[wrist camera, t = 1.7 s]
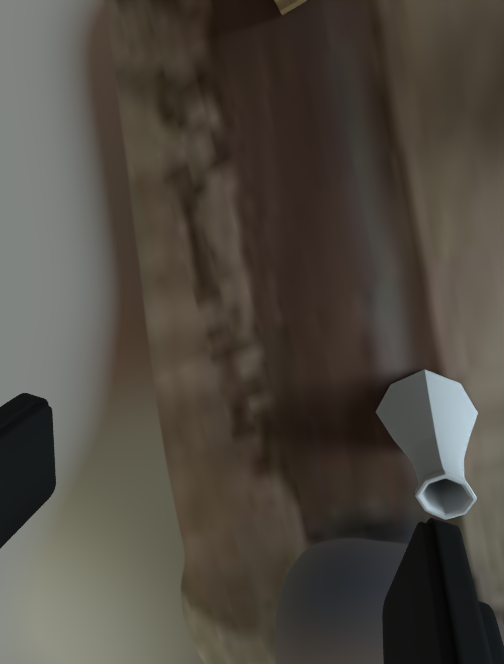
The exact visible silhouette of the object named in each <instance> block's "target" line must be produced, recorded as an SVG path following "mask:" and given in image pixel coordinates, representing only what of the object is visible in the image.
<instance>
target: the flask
mask: <svg viewBox="0 0 504 664" xmlns="http://www.w3.org/2000/svg"><path fill="white" fill-rule="evenodd" d="M477 413H478V412H477V411H476V409H475V407H474V406H473V404H472V402H471V401H470V399H469V397H468V396H467V394H466V392H465V390H464V389H463V387H462V385H461V384H460V383H458V382H455V381H453V380H450V379H448V378H445V377H443V376H440V375H438V374H435V373H433V372H430V371H427V370H425V369H424V370H422V371H420V372H417V373H415V374H413V375H411V376H408V377H406V378H404V379H402V380H399V381H397V382H395V383H393V384H391V385H390V386H389V388H388V390H387V392H386V394H385V395H384V397H383V399H382V401H381V403H380V405H379V406H378V408H377V410H376V414H377V415H378V417H379V418H380V420H381V421H382V423H383V424H384V426H385V427H386V429H387V431H388V432H389V434H390V435H391V437H392V438H393V440H394V441H395V442H396V444H397V445H398V446H399V447H400V448H401V449H402V451H403V452H404V453H405V454H406V455H407V457H408V458H409V459H410V461H411V463H412V465H413V467H414V469H415V471H416V474H417V479H418V484H419V485H418V487H417V488H416V490H415V496H416V498H417V499H418V501H419V502H420V504H421V505H422V507H423V508H424V510H425V511H426V512H428V513H431V514H433V515H435V516H438V517H440V518H442V519H444V520H446V519H450V518H453V517H457V516H460V515H464V514H466V513H467V512H468V510H469V509H470V508H471V506H472V505H473V504H474V503H475V501H476V500H477V498H476V496H475V494H474V492H473V491H472V489H471V488H470V486H469V484H468V483H467V481H466V480H465V477H464V456H465V452H466V449H467V445H468V441H469V438H470V434H471V432H472V429H473V426H474V423H475V420H476V417H477Z"/></svg>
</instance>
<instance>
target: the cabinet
mask: <svg viewBox="0 0 504 664" xmlns="http://www.w3.org/2000/svg"><path fill="white" fill-rule="evenodd" d="M274 1H275V3H276V5H277V6H278V8H279V10H280V12H281V14H282V15H284V14H286V13H287V12H289V11H291V10H292V9H294V8H296V7H297V6H299V5H301V4H302V3H304V2H306V1H307V0H274Z"/></svg>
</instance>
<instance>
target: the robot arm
mask: <svg viewBox="0 0 504 664" xmlns="http://www.w3.org/2000/svg"><path fill="white" fill-rule="evenodd" d="M55 485H56V476H55V457H54V437H53V419H52V408H51V407H50V406H49V405H48V402H47V400H46V399H44V398H40V397H37V396H34V395H31V394H28V393H22V394H20V395H18V396H16V397H15V398H13V399H12V400H10V401H9V402H7V403H6V404H4V405H3V406H1V407H0V548H1V547H2V546H3V545H4V544H5V543H6V542H7V541H8V540H9V539H10V538H11V537H12V536H13V535H14V534H15V533H16V532H17V531H18V530H19V529H20V528H21V527H22V526H23V525H24V524H25V522H26V521H27V520H28V519H29V518H30V517H31V516H32V515H33V514H34V513H35V512H36V511H37V510H38V509H39V508H40V507H41V506H42V505H43V504H44V503H45V502H46V501H47V500H48V499H49V498H50V496H51V495H52V493H53V492H54V489H55ZM383 651H384V652H383V654H384V664H504V645H503V642H502V639H501V635H500V631H499V627H498V624H497V620H496V617H495V615H494V612H493V610H492V609H491V607H490V606H489V605H488V604H485V603H483V602H480V601H478V600H477V596H476V592H475V587H474V583H473V579H472V575H471V571H470V567H469V563H468V559H467V555H466V551H465V547H464V543H463V539H462V535H461V531H460V529H459V527H458V526H456V525H452V524H449V523H446V522H443V521H439V520H436V519H433V518H430V519H429V520H428V521H427V523H423V522H419V523H418V524H417V526H416V529H415V531H414V533H413V536H412V538H411V540H410V543H409V545H408V547H407V549H406V552H405V554H404V556H403V559H402V561H401V564H400V566H399V568H398V570H397V573H396V575H395V578H394V580H393V582H392V584H391V586H390V589H389V591H388V593H387V596H386V598H385V601H384V606H383Z"/></svg>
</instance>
